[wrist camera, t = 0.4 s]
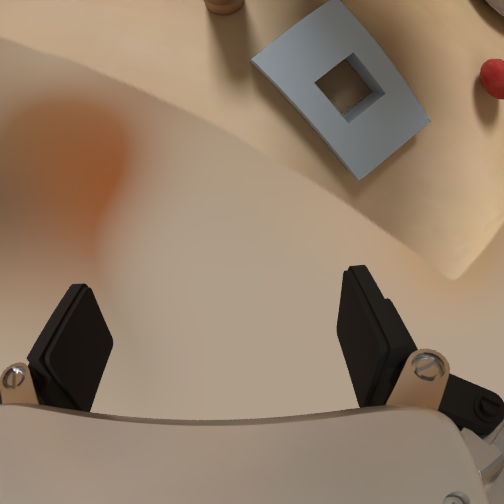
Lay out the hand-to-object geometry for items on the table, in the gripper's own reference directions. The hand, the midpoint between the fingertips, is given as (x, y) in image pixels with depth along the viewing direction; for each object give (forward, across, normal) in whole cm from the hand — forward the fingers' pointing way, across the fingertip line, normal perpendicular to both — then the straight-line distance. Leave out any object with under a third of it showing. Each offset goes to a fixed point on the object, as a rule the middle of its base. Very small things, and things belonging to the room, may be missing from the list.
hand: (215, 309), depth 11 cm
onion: (+29, -36, -12) cm, 48 cm away
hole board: (+29, -13, -7) cm, 32 cm away
